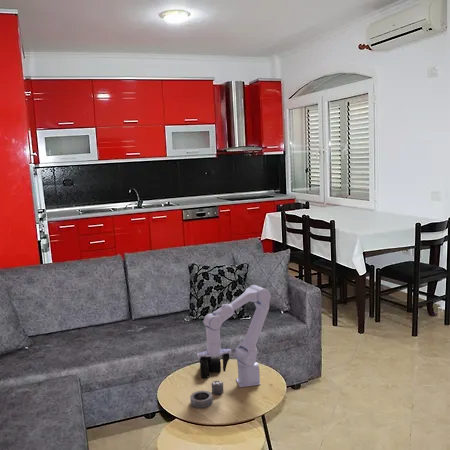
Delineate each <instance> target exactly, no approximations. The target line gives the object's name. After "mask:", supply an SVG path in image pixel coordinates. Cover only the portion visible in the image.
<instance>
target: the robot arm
mask: <svg viewBox="0 0 450 450" xmlns="http://www.w3.org/2000/svg"><path fill="white" fill-rule="evenodd" d="M271 298H272V294H271V293H270V290H269V289H267V288H264V287H261V286H259V285H256V284H252V285H250V286H249V287H247V288H246V289H245V291H244V292H243V293H242V294H240V295H239V296H238V297H237V298H236V299H234V300H233V301H231V302H230V303H223V304H221V305H220V307H219V308H217V309H216V310H213V312H212V313H211V312H210V313H208V314H206V315H205V316H204V319H203V320H202V323H203V324H204V326H205V332H206V333H205V334H206V348H207V350H205V351H200V352H197V353H196V354H197V359H198V360H200V359H201V362H202V364H203V365H204V368H205V372H206V374H208V370H207V360H206V357H212V358H213V357H219V356H222V357H221V358H222V371H223V372H226V368H227V365H228V363H229V360H230V356H231V355H232V349H231V348H221V332H220V331H221V330H220V329H221V327H222V325H223V323H224V322H225V321H227V320H228V319H229V318H231V317H232V316H234V313H235V311H236V310H238V309H239V308H241V307H242V306H244V305H245V304H247V303H248V302H249V303H250V302H251V303H254V306H255V311H254V313H253V316H252V318H251V321H250V324H249V327H248V330H247V332H246V335H245V338H244V340H242V341H241V342H239V344H238V346H237V347H236V348H235V350H234V354H233V355H234V358H235V360H236V362H237V378H235V380H236V382H237V384H238V387H239V388H245V387H246V388H247V387H252V386H258V385H259V386H260V385H261V379H260V378H261V377H260V376H261V375H260V373H261V372H260V366H259V362H257V355H258V353H259V352H258V348H257V346H256V345H257V342H258V340H259V337H260V335H261V332H262V329H263V328H264V327H263V326H264V324H265V321H266V318H267V316H268V313H269V310H270V300H271Z"/></svg>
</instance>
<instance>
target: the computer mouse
mask: <svg viewBox="0 0 450 450" xmlns="http://www.w3.org/2000/svg"><path fill="white" fill-rule="evenodd" d="M211 393H212V395H214V396H220V395H223V394H224V382H223V381H221V380H215V381H212V383H211Z"/></svg>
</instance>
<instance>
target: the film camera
mask: <svg viewBox="0 0 450 450" xmlns="http://www.w3.org/2000/svg"><path fill="white" fill-rule="evenodd" d="M206 360H207V370H208V374H206V372H205V368H204V365H203V364H202V362H201V359H199V367H200V369H199V370H200V378H201V379H202V380H206V379H208V378H209V376H210V373H211V374H212V373H216V372H217V373H218V372H221V370H222V364H221V363H222V362H221V358H218V357H216V358H215V357H213V356H212V357H206Z"/></svg>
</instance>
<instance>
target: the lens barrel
mask: <svg viewBox="0 0 450 450" xmlns="http://www.w3.org/2000/svg"><path fill="white" fill-rule="evenodd" d="M213 403H214V399H213V394H212V392H210V391H208V390H197V391H194V392H192V393H191V395H190V406H191V407H192V408H194V409H200V410H202V409H207V408H208V407H209V408H210V407H211V406H213V405H212V404H213Z"/></svg>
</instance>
